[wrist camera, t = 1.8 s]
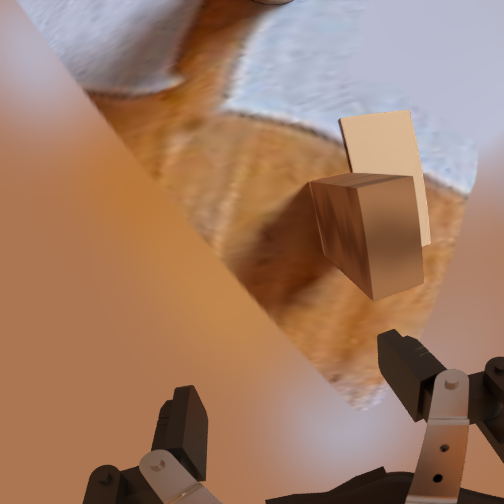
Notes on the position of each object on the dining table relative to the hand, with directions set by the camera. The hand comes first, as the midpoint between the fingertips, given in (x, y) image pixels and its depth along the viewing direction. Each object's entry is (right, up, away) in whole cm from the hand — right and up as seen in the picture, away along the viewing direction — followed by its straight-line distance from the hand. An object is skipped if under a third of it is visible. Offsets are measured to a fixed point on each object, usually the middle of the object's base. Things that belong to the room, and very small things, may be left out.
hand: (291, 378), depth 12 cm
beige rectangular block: (+16, +14, +23) cm, 31 cm away
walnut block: (+8, +10, +23) cm, 27 cm away
